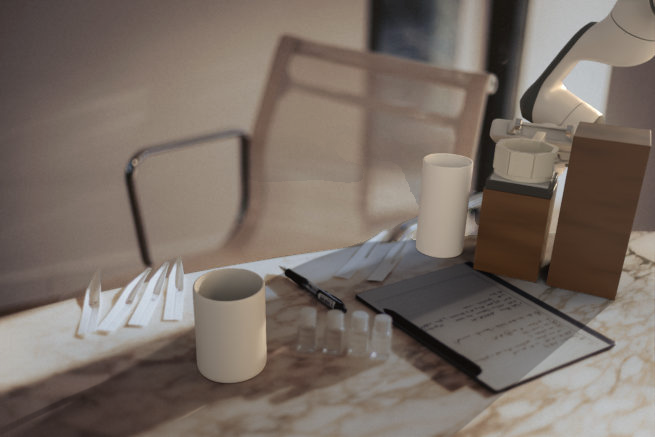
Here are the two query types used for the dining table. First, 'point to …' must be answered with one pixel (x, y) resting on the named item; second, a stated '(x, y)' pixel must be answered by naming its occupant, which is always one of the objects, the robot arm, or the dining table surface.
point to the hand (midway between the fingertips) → (543, 125)
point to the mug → (230, 324)
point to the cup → (443, 204)
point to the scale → (522, 186)
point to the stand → (571, 216)
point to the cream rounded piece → (525, 159)
